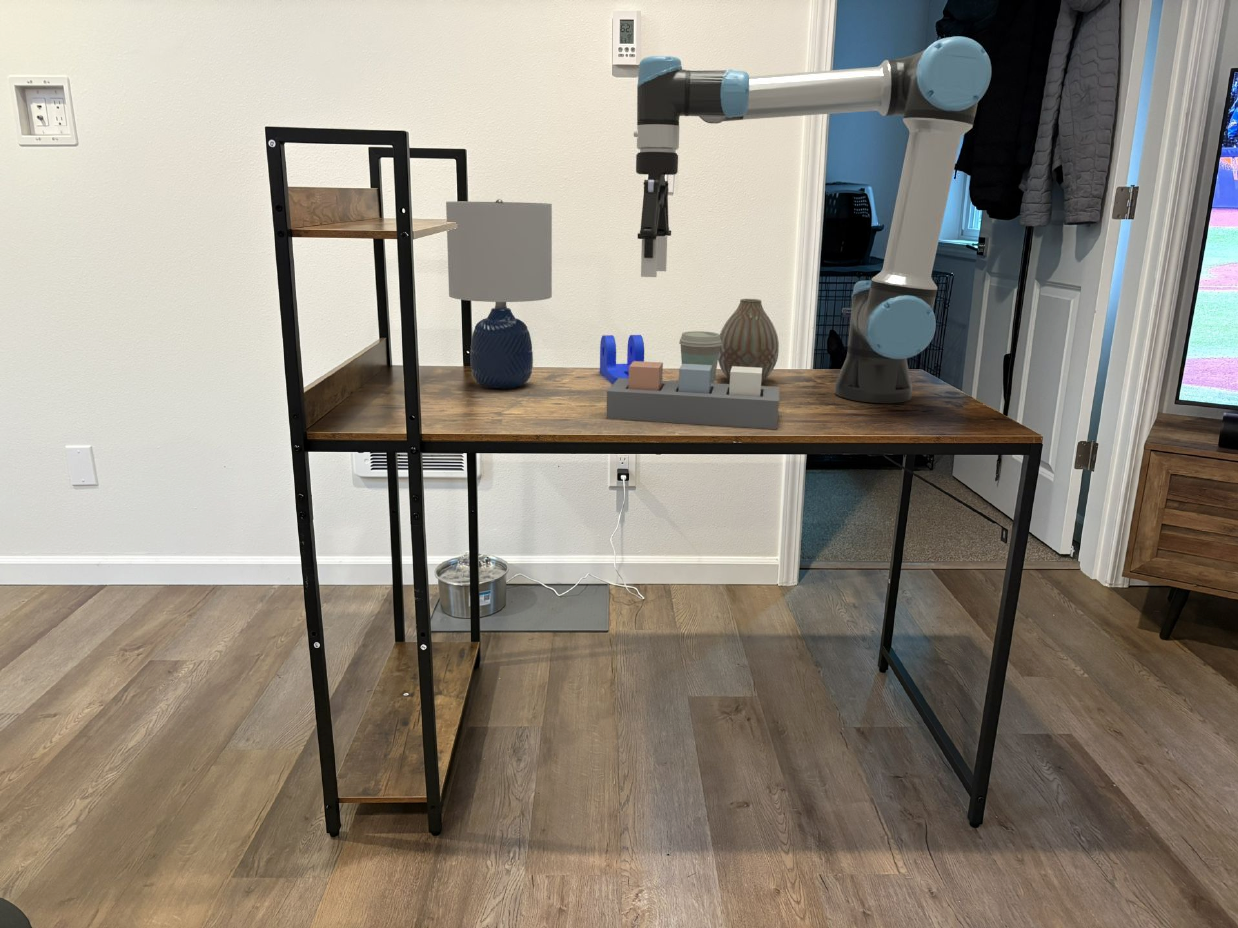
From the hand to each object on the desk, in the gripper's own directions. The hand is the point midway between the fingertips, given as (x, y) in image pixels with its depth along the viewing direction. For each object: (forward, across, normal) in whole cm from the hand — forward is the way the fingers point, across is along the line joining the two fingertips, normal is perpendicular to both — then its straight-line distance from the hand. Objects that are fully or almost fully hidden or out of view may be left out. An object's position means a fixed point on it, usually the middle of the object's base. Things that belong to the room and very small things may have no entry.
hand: (654, 274), depth 168 cm
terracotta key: (+20, +9, 0) cm, 22 cm away
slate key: (+20, +9, +9) cm, 24 cm away
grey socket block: (+24, +9, +9) cm, 28 cm away
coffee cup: (+25, -11, +8) cm, 28 cm away
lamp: (+24, -6, -32) cm, 40 cm away
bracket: (+25, -20, -8) cm, 32 cm away
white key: (+20, +9, +18) cm, 28 cm away
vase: (+25, -26, +17) cm, 39 cm away
